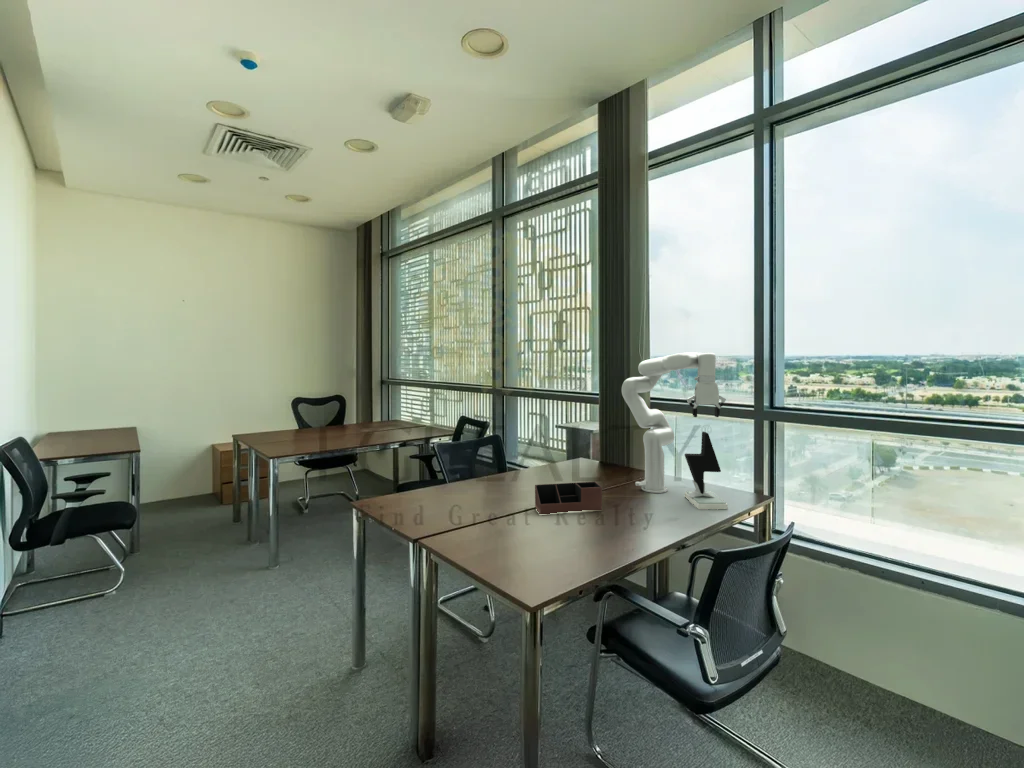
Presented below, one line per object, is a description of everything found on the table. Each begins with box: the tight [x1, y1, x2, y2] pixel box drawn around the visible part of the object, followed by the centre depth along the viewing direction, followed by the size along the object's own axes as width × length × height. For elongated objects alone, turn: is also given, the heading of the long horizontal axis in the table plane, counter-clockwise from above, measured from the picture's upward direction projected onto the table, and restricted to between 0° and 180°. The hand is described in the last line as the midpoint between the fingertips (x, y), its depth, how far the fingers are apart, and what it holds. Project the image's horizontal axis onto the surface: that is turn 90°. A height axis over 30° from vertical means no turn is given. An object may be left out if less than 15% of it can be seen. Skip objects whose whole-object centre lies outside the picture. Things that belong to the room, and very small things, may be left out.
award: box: [684, 431, 721, 498], centre depth 226 cm, size 15×5×30 cm, turn 87°
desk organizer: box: [534, 481, 603, 514], centre depth 218 cm, size 10×29×11 cm, turn 100°
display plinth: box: [684, 490, 729, 511], centre depth 226 cm, size 13×19×3 cm
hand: (705, 416), depth 224 cm, fingers open, 9 cm apart
